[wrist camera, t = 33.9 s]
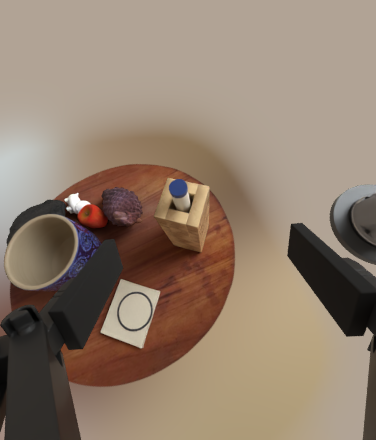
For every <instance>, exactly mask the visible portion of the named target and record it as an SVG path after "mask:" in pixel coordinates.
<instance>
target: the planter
mask: <svg viewBox="0 0 376 440" xmlns="http://www.w3.org/2000/svg"><path fill="white" fill-rule="evenodd" d="M100 245H101V242H100V241H99V239H98V238H97V237H96V235H94V234H93V233H92V232H91V231H89V230H88V229H86V228H85V227H83V226H81V225H80V224H78V223H76V222H74V221H72V220H70V219H69V218H66V217H64V216H61V215H57V214H46V215H41V216H38V217H36V218H34V219H32V220H30V221H28V222H27V223H25V224H24V225H23V226H22V227H21V228H20V229H19V230H18V231H17V232H16V233H15V234H14V236H13V237H12V239H11V240H10V242H9V244H8V246H7V249H6V252H5V257H4V268H5V272H6V275H7V277H8V279H9V280H10V281H11V283H12V284H14V285H15V286H16V287H18V288H21V289H24V290H30V291H58V290H59V289H60V287H61V286H62V285H63V284H64V283H65V282H67V281H68V280H69V279H71V278H75V277H76V276H77V274H78V273H79V272H80V271H81V269H82V268H83V267H84V266H85V264H86V263H87V262H88V260H89V259H90V258H91V257H92V255H93V254H94V253H95V252H96V250H97V249H98V248H99V247H100Z"/></svg>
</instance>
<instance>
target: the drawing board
mask: <svg viewBox="0 0 376 440" xmlns="http://www.w3.org/2000/svg"><path fill="white" fill-rule="evenodd" d="M159 295H160V291H157V290H154V289H151V288H148V287H144V286H141V285H138V284H135V283H132V282H129V281H126V280H123V279H121V280H120V283H119V285H118V288H117V290H116V293H115V296H114V298H113V301H112V303H111V306H110V309H109V311H108V314H107V317H106V319H105V322H104V324H103V327H102V330H101V332H100V333H102V334H105V335H108V336H110V337H113V338H116V339H118V340H121V341H123V342H126V343H129V344H131V345H134V346H137V347H139V348H143V345H144V342H145V339H146V336H147V333H148V330H149V327H150V323H151V320H152V317H153V314H154V311H155V308H156V304H157V301H158V298H159Z"/></svg>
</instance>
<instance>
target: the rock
mask: <svg viewBox="0 0 376 440" xmlns="http://www.w3.org/2000/svg"><path fill="white" fill-rule="evenodd" d="M65 207H66V205H65V203H64V202H62V201H60V200H47V201H45V202H44V203H42V204H39V205H36V206H33V207H30V208H29V209H27V210H26V211H24V212H22V213H21V214H20V215H19V216H18V217H17V218H16V219H15V221H14V222H13V224H12V226H11V228H10V234H9V235H8V238H7V246H8V244H9V242H10V240H11V239H12V237H13V236H14V234H15V233H16V232H17V231H18V230H19V229H20V228H21V227H22V226H23V225H24V224H25V223H27V222H28V221H30V220H32V219H34V218H36V217H38V216H41V215H46V214H57V215H61V216H64V217H65V210H64V209H65Z"/></svg>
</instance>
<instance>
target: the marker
mask: <svg viewBox="0 0 376 440" xmlns="http://www.w3.org/2000/svg"><path fill="white" fill-rule="evenodd" d="M169 191H170V194H171V196H172V199H173V201H174V204H175V207H176V209H177V211H181V212H185V213H190V209H191V204H190V199H189V194H188V187H187V183H186V182H185V181H184V180H181V179H176V180H174V181H172V182H171V183H170V185H169Z"/></svg>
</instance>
